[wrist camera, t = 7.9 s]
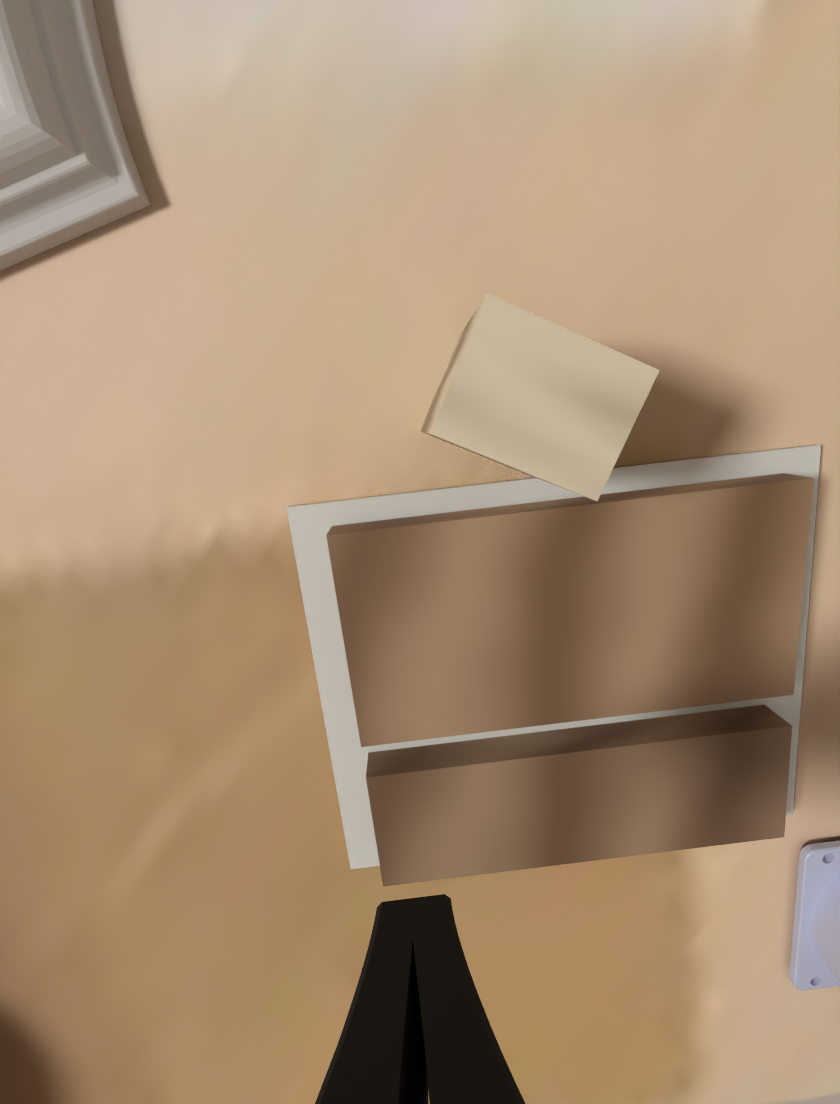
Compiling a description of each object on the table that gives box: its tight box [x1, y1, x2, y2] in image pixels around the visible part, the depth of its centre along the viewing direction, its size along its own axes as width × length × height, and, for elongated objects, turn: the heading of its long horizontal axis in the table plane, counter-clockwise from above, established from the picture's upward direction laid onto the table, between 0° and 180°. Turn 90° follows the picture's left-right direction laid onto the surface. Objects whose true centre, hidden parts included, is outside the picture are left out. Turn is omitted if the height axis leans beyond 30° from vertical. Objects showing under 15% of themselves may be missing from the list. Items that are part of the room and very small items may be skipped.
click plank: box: [326, 473, 814, 747], centre depth 18 cm, size 16×8×1 cm, turn 96°
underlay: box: [287, 445, 821, 869], centre depth 20 cm, size 19×16×1 cm
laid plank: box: [366, 705, 792, 886], centre depth 20 cm, size 16×5×2 cm, turn 96°
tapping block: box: [421, 293, 660, 501], centre depth 14 cm, size 7×4×3 cm
